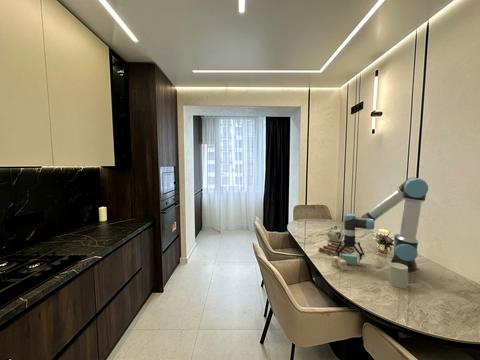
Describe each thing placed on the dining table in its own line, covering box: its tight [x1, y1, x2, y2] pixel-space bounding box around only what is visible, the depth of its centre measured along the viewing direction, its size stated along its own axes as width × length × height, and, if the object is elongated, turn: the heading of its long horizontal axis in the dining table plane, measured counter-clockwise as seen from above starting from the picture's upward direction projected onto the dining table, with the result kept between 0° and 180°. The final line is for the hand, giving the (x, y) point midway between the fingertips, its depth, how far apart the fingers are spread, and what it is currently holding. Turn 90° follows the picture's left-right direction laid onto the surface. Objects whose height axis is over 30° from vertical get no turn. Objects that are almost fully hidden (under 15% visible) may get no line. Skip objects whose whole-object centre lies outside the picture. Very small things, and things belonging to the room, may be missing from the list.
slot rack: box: [317, 241, 356, 259], centre depth 192 cm, size 20×24×3 cm
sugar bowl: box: [326, 225, 345, 243], centre depth 218 cm, size 20×15×15 cm
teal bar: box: [341, 253, 358, 266], centre depth 168 cm, size 10×4×6 cm, turn 69°
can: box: [388, 262, 409, 289], centre depth 137 cm, size 9×9×12 cm
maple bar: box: [331, 256, 348, 271], centre depth 162 cm, size 10×4×6 cm, turn 19°
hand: (349, 262), depth 168 cm, fingers open, 12 cm apart
